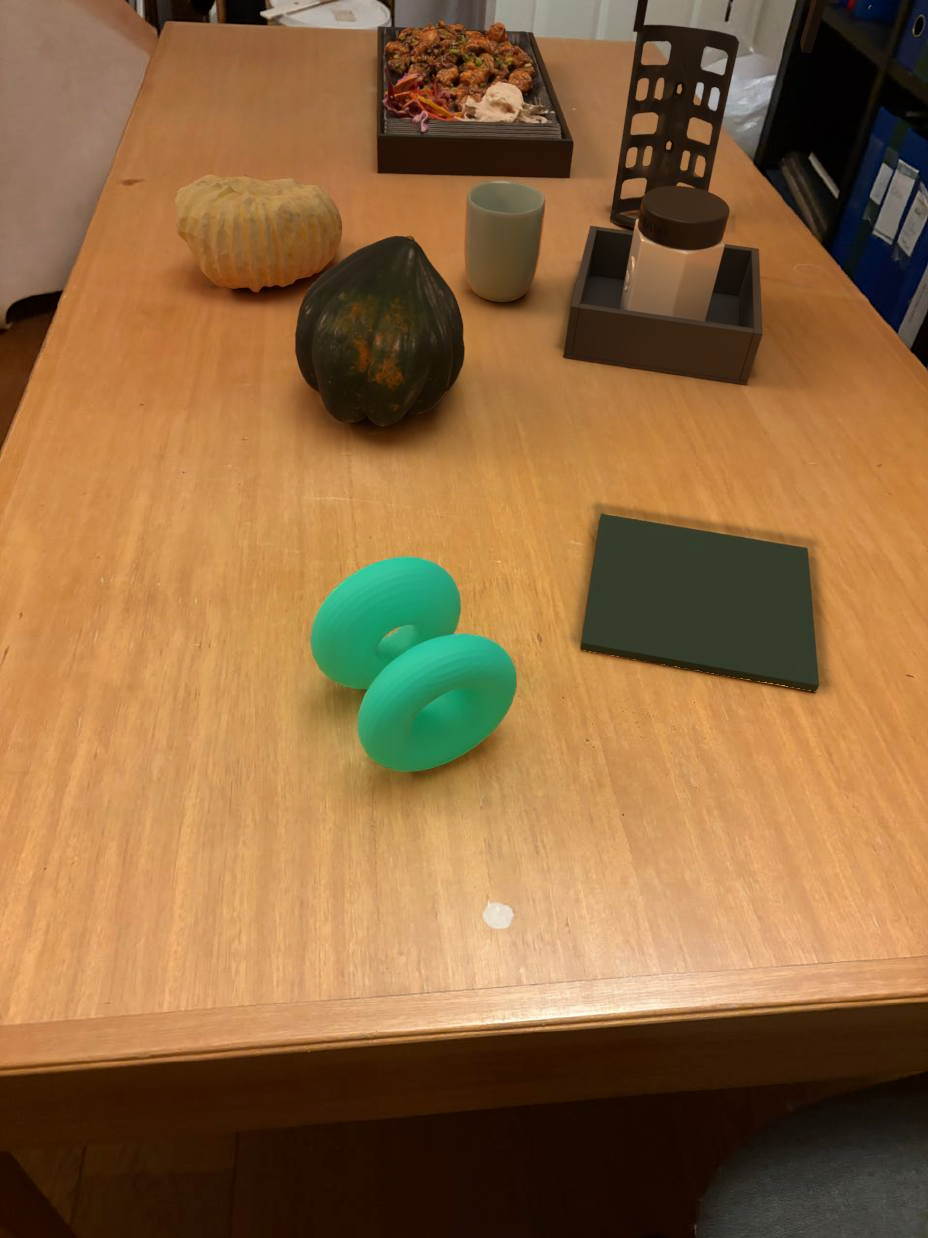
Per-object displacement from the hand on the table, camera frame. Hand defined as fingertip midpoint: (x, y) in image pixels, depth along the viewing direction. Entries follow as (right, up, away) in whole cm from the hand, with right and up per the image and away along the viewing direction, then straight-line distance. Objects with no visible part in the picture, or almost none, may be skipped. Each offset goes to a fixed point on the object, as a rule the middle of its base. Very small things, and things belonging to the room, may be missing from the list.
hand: (721, 38), depth 76 cm
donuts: (-24, -54, -16) cm, 61 cm away
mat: (-4, -46, -8) cm, 47 cm away
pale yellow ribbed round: (-42, -10, +23) cm, 49 cm away
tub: (-1, -18, +19) cm, 26 cm away
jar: (-1, -17, +19) cm, 26 cm away
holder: (+2, 0, +36) cm, 36 cm away
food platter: (-21, +25, +58) cm, 67 cm away
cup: (-17, -13, +22) cm, 31 cm away
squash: (-29, -28, +8) cm, 41 cm away
